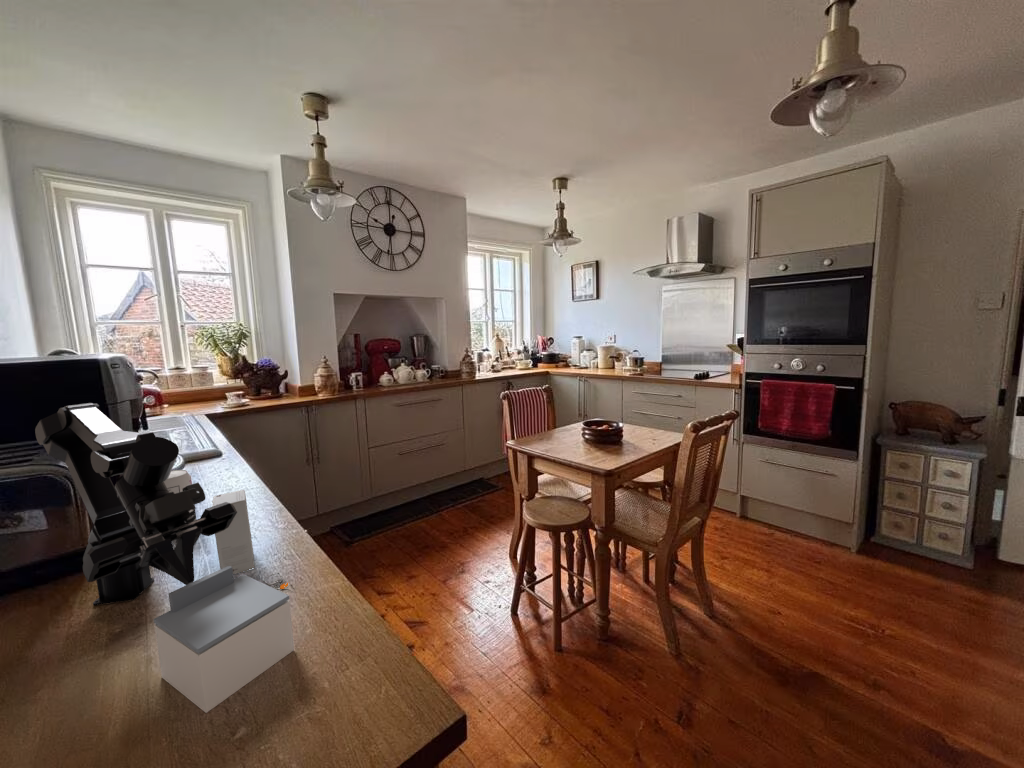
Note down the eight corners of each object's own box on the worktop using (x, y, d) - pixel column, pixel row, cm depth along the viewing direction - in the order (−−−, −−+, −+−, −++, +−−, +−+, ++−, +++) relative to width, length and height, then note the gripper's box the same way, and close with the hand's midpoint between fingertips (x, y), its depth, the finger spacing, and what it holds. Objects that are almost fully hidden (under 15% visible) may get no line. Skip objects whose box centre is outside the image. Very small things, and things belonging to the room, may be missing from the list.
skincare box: (255, 569, 86) (247, 500, 84) (219, 579, 83) (210, 507, 81) (253, 552, 93) (246, 487, 91) (220, 560, 90) (212, 494, 88)
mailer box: (161, 677, 59) (154, 624, 58) (249, 624, 70) (244, 579, 69) (206, 713, 53) (198, 655, 52) (294, 649, 64) (289, 601, 63)
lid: (154, 622, 58) (151, 601, 58) (243, 577, 68) (241, 559, 68) (198, 653, 52) (195, 630, 52) (289, 599, 63) (287, 579, 62)
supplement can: (146, 539, 100) (138, 478, 98) (184, 524, 108) (177, 467, 106) (168, 544, 97) (159, 482, 95) (205, 529, 105) (198, 470, 103)
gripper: (77, 493, 57) (123, 592, 53) (225, 456, 73) (268, 529, 69) (65, 536, 62) (107, 629, 58) (206, 492, 78) (246, 563, 74)
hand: (190, 582), depth 65 cm, fingers closed
